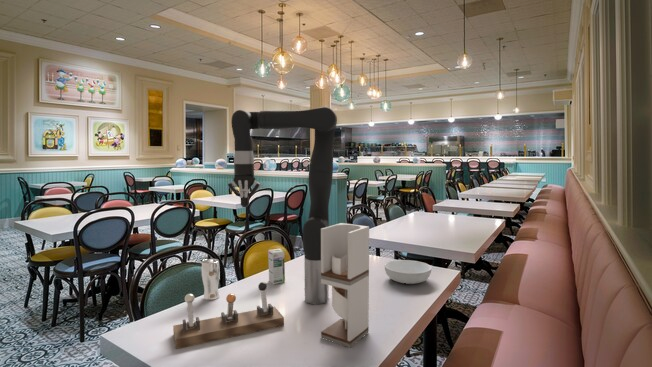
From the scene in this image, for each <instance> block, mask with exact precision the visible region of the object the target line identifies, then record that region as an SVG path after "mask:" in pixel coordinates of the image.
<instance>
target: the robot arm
mask: <svg viewBox="0 0 652 367" xmlns="http://www.w3.org/2000/svg"><path fill="white" fill-rule="evenodd" d="M335 112H336V111H334V110H333V109H332V108H330V107H328V106H321V107H317V108H312V109H311V108H310V109H304V110H301V109H300V110H273V109H272V110H260V111H247V110H244V109H238V110H236V111H234V112H233V113H232V116H231V129H232V135H233V139H234V140H233V142H234V144H233V145H234V149H233V150H234V154H233V169H234V170H233V171H234V172H233V175H234V176H233V179H232V181H231V182H229V183H228V184H227V185H228V187H229V188H230V190H231V191H232V192H233V193H234V194H235V196H236V197H239V198H240V206H242V208H247V207H248V206H249V205H250V200H249V198H250V197H252V196H254V194H255V193H256V192H257V190H258V189H259V188H260V187H261V185H262V183H260V182H258V180H256V177H255V158H254V141H253V140H254V139H253V138H252V136H251V130H260V129H262V130H282V129H293V128H295V129H296V128H303V129H304V128H305V129H313V130H314V141H313V142H314V143H313V149H312V152H311V157H310V162H309V167H308V180H307V182H308V183H307V184H308V190H309V191H308V192H309V199H310V203H309V204H310V205H309V206H310V207H309V214H308V217H307V218H308V219H307V220H306V221H305V223H304V224H303V226H302V249H303V253H304V255H303V256H304V302H305V303H307V304H309V305H310V304H311V305H322V304H328V303H329V296H330V295H329V294H330V293H329V287H330V285H326V284H322V283H321V229H322V228H325V227H329V226H330V219H329V216H330V215H329V209H330V208H329V205H330V198H331V192H332V186H333V176H334V175H333V174H334V173H333V172H334V149H333V148H334V147H333V146H334V140H335V134H336V133H335V132H336V128H337V124H338V118H337V117H338V116H337V114H336V113H335ZM236 186H237V187H236ZM252 186H253V188H251V187H252Z"/></svg>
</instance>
